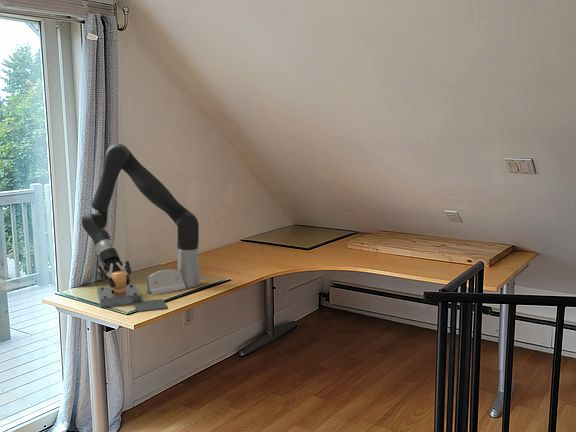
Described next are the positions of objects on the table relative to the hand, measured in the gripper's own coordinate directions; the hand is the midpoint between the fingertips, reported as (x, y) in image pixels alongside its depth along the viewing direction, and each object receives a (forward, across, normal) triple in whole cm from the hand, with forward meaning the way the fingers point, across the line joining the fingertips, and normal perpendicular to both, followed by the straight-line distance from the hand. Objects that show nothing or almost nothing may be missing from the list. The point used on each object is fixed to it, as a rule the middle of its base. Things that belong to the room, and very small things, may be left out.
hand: (121, 285), depth 252 cm
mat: (+14, +6, -5) cm, 16 cm away
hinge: (+4, +22, +6) cm, 23 cm away
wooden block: (+2, 0, +5) cm, 5 cm away
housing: (+3, 0, +6) cm, 7 cm away
